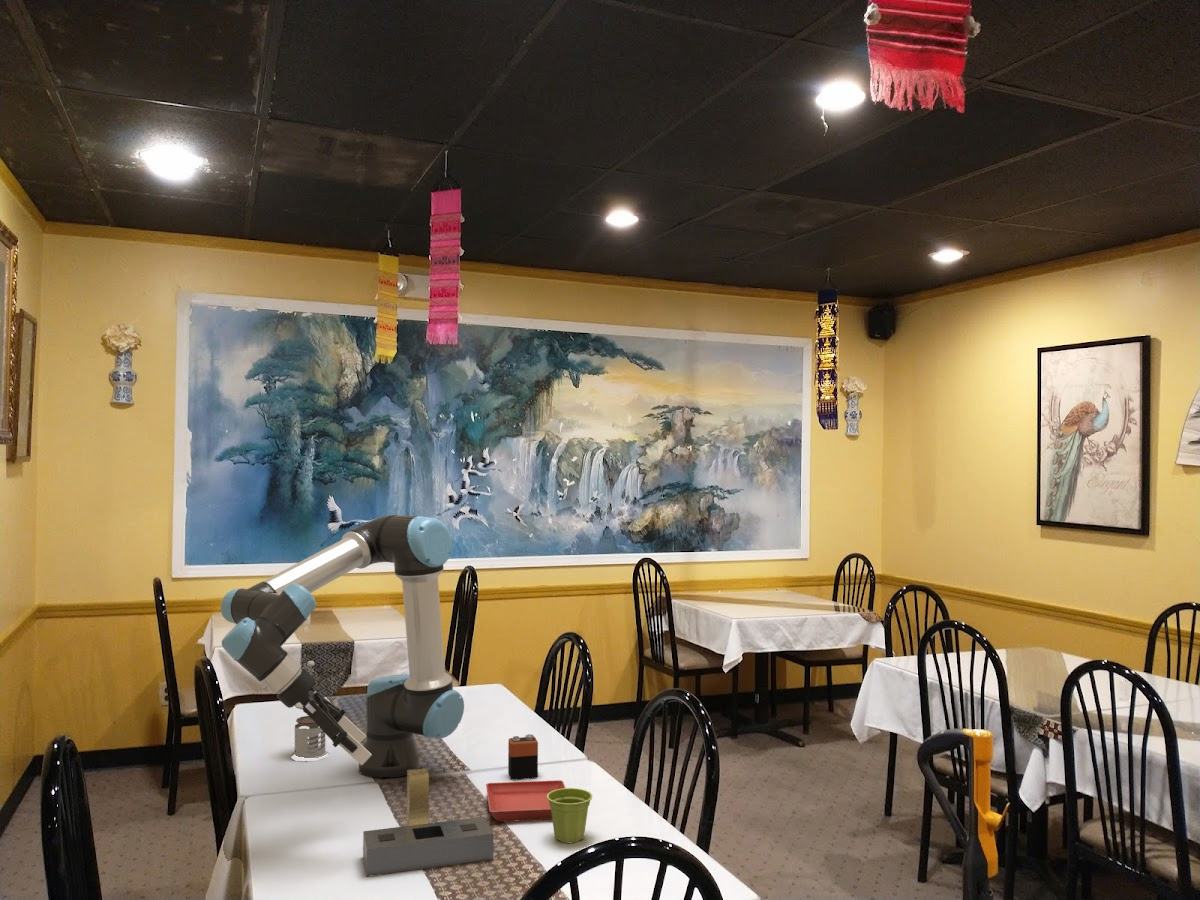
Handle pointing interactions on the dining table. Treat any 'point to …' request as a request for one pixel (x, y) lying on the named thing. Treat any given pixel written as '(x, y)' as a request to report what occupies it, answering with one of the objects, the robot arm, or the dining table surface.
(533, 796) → the plant saucer
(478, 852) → the gray socket block
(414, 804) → the brass post
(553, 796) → the plant pot
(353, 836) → the dining table surface
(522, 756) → the battery
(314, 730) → the french press
